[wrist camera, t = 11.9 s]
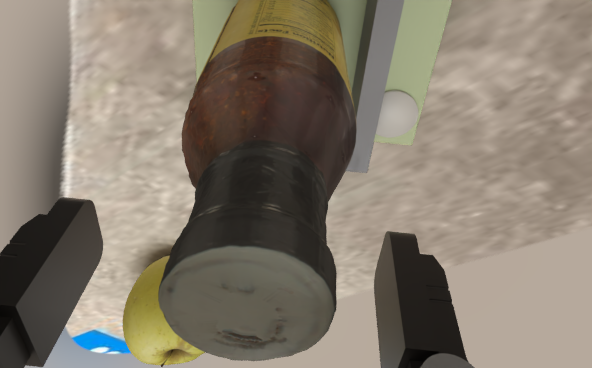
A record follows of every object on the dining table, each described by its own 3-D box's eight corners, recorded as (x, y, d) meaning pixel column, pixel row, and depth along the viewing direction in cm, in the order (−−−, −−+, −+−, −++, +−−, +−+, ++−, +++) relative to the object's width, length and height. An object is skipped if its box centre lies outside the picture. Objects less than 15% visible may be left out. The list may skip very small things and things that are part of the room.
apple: (108, 259, 39) (96, 359, 31) (198, 226, 40) (210, 316, 32) (148, 316, 44) (147, 416, 36) (229, 286, 44) (246, 378, 36)
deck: (473, -106, 23) (506, -91, 19) (409, 135, 32) (421, 182, 28) (191, -134, 23) (161, -125, 19) (202, 116, 32) (184, 160, 27)
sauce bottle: (290, 99, 29) (252, 423, 13) (208, 32, 27) (45, 328, 11) (368, 22, 26) (438, 325, 10) (283, -63, 24) (206, 163, 8)
